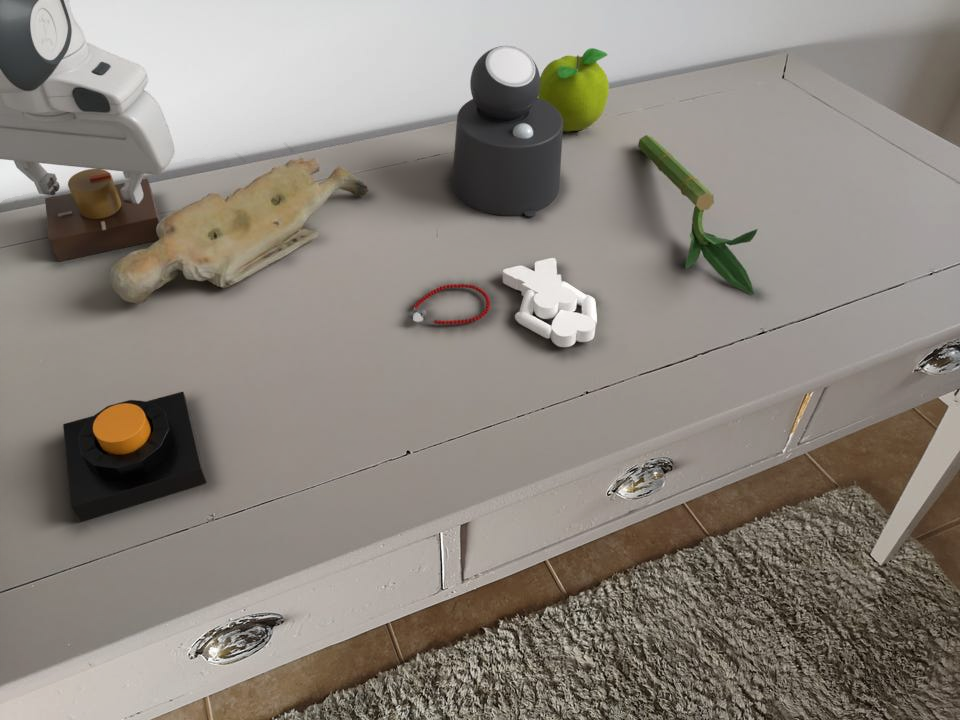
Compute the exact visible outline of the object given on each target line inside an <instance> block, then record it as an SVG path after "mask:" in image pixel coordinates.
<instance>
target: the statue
mask: <svg viewBox="0 0 960 720" xmlns="http://www.w3.org/2000/svg"><path fill="white" fill-rule="evenodd" d="M320 167H321V166H320V163H319V162H318V160H317V158H316V157H312V158H311V159H308V160H305V158H303V157H299V158H298V159H290V160H288V161H287V162H286V163H285V164H283V165H279V166H275V167H273V168H272V169H271V170H270V171H268V172H266V173H264V174H262V175H260V176H258V177H256V178H255V179H253V180H252V181H251V182H250V183H249V184H248V185H246V186H245V187H238V188H237V189H235V191H234V192H233V193H231V194H229V195H227V197H226V198H225V199H223V197H222V196H221V195H220V194H219V193H213V192H211V193H208V194H207V195H206V196H203V197H202V198H201V199H199V200H197V201H195V202H192V203H190V204H187V205H185V206H184V207H183V208H181V209H178V210H176V211H173V212H171V213H169V214H168V215H166V216H165V217H163V218H161V220H160V222H159V223H158V224H157V227H156V232H157V235H158V237H159V240H157V241H154V242H153V243H152V244H151V245H149V246H148V247H147V248H143V249H138V250H132V251H131V252H129V253H128V254H126V255H125V256H123V257H122V258H119V260H118V261H117V262H115V263H114V265H113V266H112V267H111V268H110V270H109V279H110V283H111V285H112V286H111V287H112V288H113V290H114V292H115V293H116V294H118V296H119V297H120V298H121V299H122V300H124V301H125V302H128V303H134V304H136V305H139V304H142V303H145V302H146V301H147V300H148V298H149V297H150V295H152V293H153V292H155V291H156V290H158V289H160V288H162V287H163V286H164V285H166V284H167V283H169V282H171V281H172V280H174V279H176V278H177V276H178V273H179V272H180V271H181V272H182V274H183V276H184V278H185V279H186V280H190V281H197V282H204V281H207V282H210V283H211V284H213V285H215V286H216V287H219V288H227V289H228V288H230V287H231V286H232V285H235V284H237V283H239V282H241V281H242V280H244V279H245V278H248V277H250V276H251V275H254V274H255V273H256V272H259V271H261V270H262V269H264V268H266V267H267V266H269V265H270V264H272V263H275V262H276V261H278V260H280V259H282V258H284V257H285V256H287V255H289V254H290V253H292V252H294V251H295V250H297V249H298V248H300V247H301V246H303V245H305V244H307V243H309V242H310V241H312V240H314V239H317V238H318V237H319V232H318V231H316V230H311V229H306V228H303V226H304V225H305V223H306V222H307V221H308V219H309V218H311V216H313V215H314V214H315V213H316V212H317V211H318V210H319V209H320V208H321V207H322V206H323V205H324V204H325V203H326V201H327V200H328V199H329V198H330V196H332V195H333V193H335V192H336V191H338V190H343V191H346V192H349V193H351V194H352V195H353V196H354V197H365V196H366V195H367V193H368V192H369V189H368V185H367V184H365V183H364V181H362V180H361V179H359V178H357V177H355V176H354V175H353V174H352V173H350V172H349V171H348V170H346V169H344V168H343V167H336V168H335V169H334V170H333V171H332V173H331V174H330V175H329V176H328V177H327V178H326V179H325V180H323V181H322V182H320V183H318V181H316V180H315V176H313V175H314V174H316V173H318V172H319V171H320Z"/></svg>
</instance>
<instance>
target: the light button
mask: <svg viewBox="0 0 960 720" xmlns="http://www.w3.org/2000/svg"><path fill="white" fill-rule="evenodd" d="M116 404H117V403H116ZM93 432H94V435H95V436H96V438H97V440H98V442H99V444H100V446H101V447H102V449H103V450H104V451H106V452H108V453H110V454H114V455H123V454H128V453H131V452H134V451H136V450H137V449H139V448H140V447H142V446H143V445H144V444H145V443H146V442H147V440H148V439H149V436H150V433H151V427H150V425H149V422H148V420H147V418H146V416H145V413H144V411H143V410H142V409H141V408H140V407H138V406H137V405H134V404H128V403H123V404H117V405H114V406H111V407H109V408H107V409H106V410H104V411H103V412H101V413H100V414H99V415H98V417H97V418H96V419H95V421H94V424H93Z"/></svg>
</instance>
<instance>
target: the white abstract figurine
mask: <svg viewBox="0 0 960 720" xmlns="http://www.w3.org/2000/svg"><path fill="white" fill-rule="evenodd" d="M502 284H504V285H506V286H508V287H510V288H512V289H514V290H516V291H519V292H521V296H522V297H523V298H522V301H521V305H520V308H519V311H518V312H516V313H515V315H514V320H515V321H516V322H517V323H518V324H519V325H521V326H522V327H525V328H527V329H528V330H530V331H532V332H534V333H535V334H537V335H539V336H541V337H543V338H545V339H551V341H552V343H553V344H554V345H555V346H557V347H559V348H568V347H572V346H574V345H575V344H576V342H579V343H587V342H590V341H592V340H593V339H594V338H595V334H596V327H597V323H598V316H597V303H596V302H597V301H596V299H595V298H594V297H593V296H591V295H589V294H586V293H583V292H582V291H581V290H579V289H577V288H576V287H574V286H573V285H571V284H570V283H568V282H566V281H564V280H562V274H561V273H559V274H558V268H557V259H556V258H555V257H549V258H545V259H541V260H537V261H535V263H534V270H532V269H531V268H528V267H527V266H524V265H521V264H520V265H515V266H511V267H507V268H504V269H503V270H502ZM577 306H580V307H581V312H575V311H576V310H577ZM533 314H534V315H536V316H534V315H533ZM537 317H538V318H537ZM542 319H543V320H549V319H553V320H552V322H551V324H549V323H547V322H545V321H543V320H542Z"/></svg>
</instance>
